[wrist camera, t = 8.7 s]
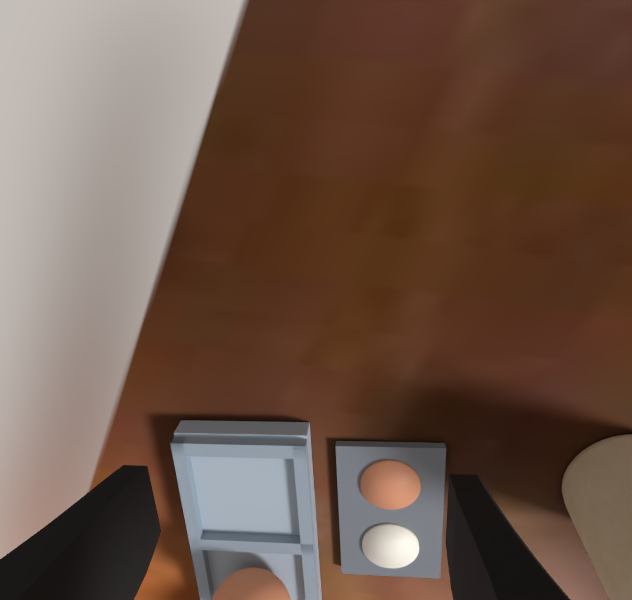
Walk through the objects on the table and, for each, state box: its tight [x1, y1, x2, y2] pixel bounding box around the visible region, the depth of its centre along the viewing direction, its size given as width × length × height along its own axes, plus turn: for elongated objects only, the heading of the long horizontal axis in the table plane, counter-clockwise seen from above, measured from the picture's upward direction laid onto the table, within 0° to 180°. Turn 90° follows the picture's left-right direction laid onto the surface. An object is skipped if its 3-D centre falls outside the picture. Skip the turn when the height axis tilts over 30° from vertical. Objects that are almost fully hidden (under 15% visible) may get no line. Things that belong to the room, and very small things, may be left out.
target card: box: [336, 441, 446, 579], centre depth 25 cm, size 5×8×1 cm, turn 3°
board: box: [170, 420, 322, 600], centre depth 27 cm, size 6×20×2 cm, turn 3°
